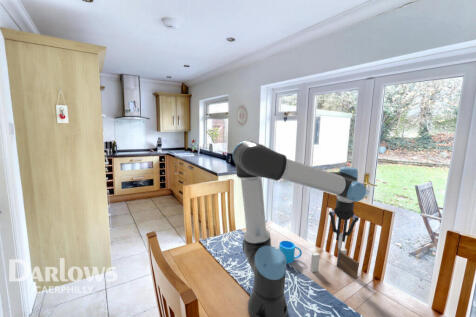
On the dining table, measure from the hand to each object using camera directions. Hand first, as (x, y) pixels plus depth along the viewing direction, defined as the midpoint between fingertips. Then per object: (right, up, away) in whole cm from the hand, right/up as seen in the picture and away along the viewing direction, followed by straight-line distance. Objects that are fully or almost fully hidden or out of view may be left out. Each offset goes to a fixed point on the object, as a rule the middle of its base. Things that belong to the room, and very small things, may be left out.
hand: (339, 247), depth 107 cm
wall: (-3, -13, +6) cm, 15 cm away
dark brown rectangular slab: (+6, -14, +3) cm, 15 cm away
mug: (-21, -12, +13) cm, 27 cm away
